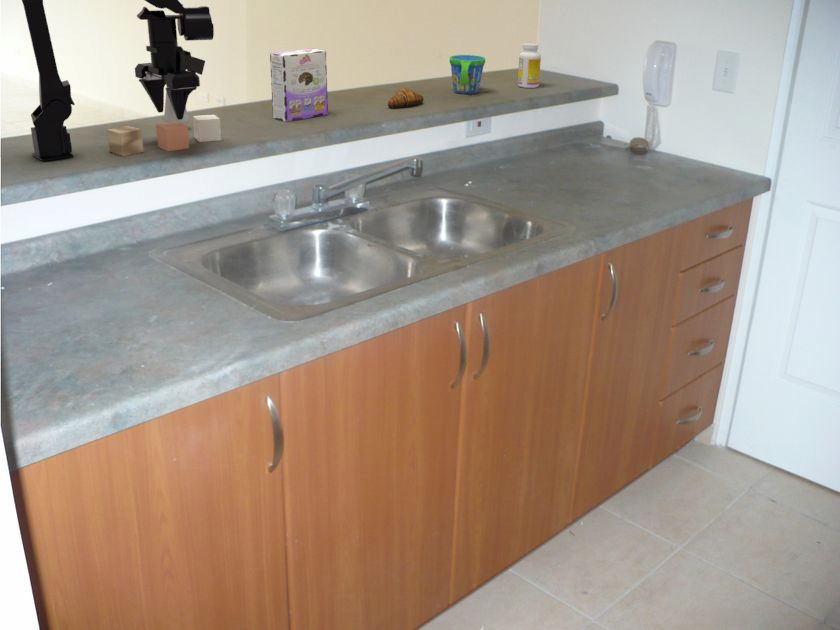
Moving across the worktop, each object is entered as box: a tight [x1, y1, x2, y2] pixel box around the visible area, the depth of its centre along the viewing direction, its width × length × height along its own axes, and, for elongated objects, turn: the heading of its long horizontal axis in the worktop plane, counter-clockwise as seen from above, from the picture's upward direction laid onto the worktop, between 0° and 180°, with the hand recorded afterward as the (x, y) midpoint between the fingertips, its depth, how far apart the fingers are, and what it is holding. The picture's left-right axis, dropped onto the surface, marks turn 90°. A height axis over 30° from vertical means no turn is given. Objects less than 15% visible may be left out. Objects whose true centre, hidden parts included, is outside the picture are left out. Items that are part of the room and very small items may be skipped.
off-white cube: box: [192, 114, 222, 143], centre depth 202 cm, size 5×5×5 cm
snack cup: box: [449, 54, 486, 95], centre depth 262 cm, size 16×10×10 cm
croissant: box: [387, 87, 424, 109], centre depth 243 cm, size 14×7×5 cm, turn 139°
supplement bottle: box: [517, 42, 542, 89], centre depth 273 cm, size 7×7×13 cm
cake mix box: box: [269, 47, 329, 123], centre depth 224 cm, size 14×6×16 cm, turn 134°
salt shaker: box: [163, 86, 190, 126], centre depth 209 cm, size 6×6×13 cm
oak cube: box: [106, 125, 145, 157], centre depth 190 cm, size 5×5×5 cm
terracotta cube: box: [155, 122, 190, 152], centre depth 194 cm, size 5×5×5 cm
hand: (170, 115), depth 192 cm, fingers open, 9 cm apart
